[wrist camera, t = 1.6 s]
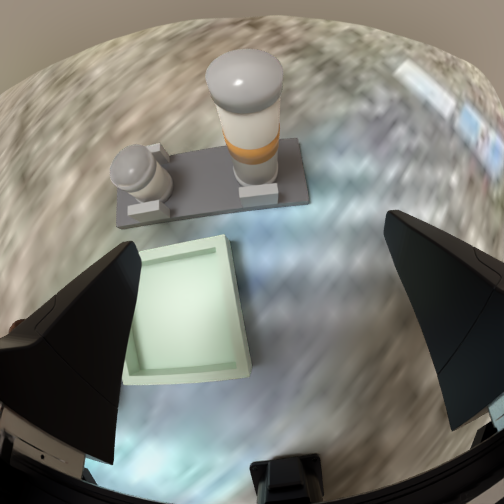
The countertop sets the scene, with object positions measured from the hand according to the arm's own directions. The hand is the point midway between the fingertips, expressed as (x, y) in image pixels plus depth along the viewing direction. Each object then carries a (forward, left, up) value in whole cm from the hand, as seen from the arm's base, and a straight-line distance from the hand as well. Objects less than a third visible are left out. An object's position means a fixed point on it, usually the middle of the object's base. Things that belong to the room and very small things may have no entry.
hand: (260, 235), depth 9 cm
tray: (-3, +8, -13) cm, 16 cm away
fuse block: (+8, +4, -13) cm, 16 cm away
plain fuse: (+8, +8, -12) cm, 17 cm away
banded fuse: (+8, -1, -12) cm, 15 cm away
